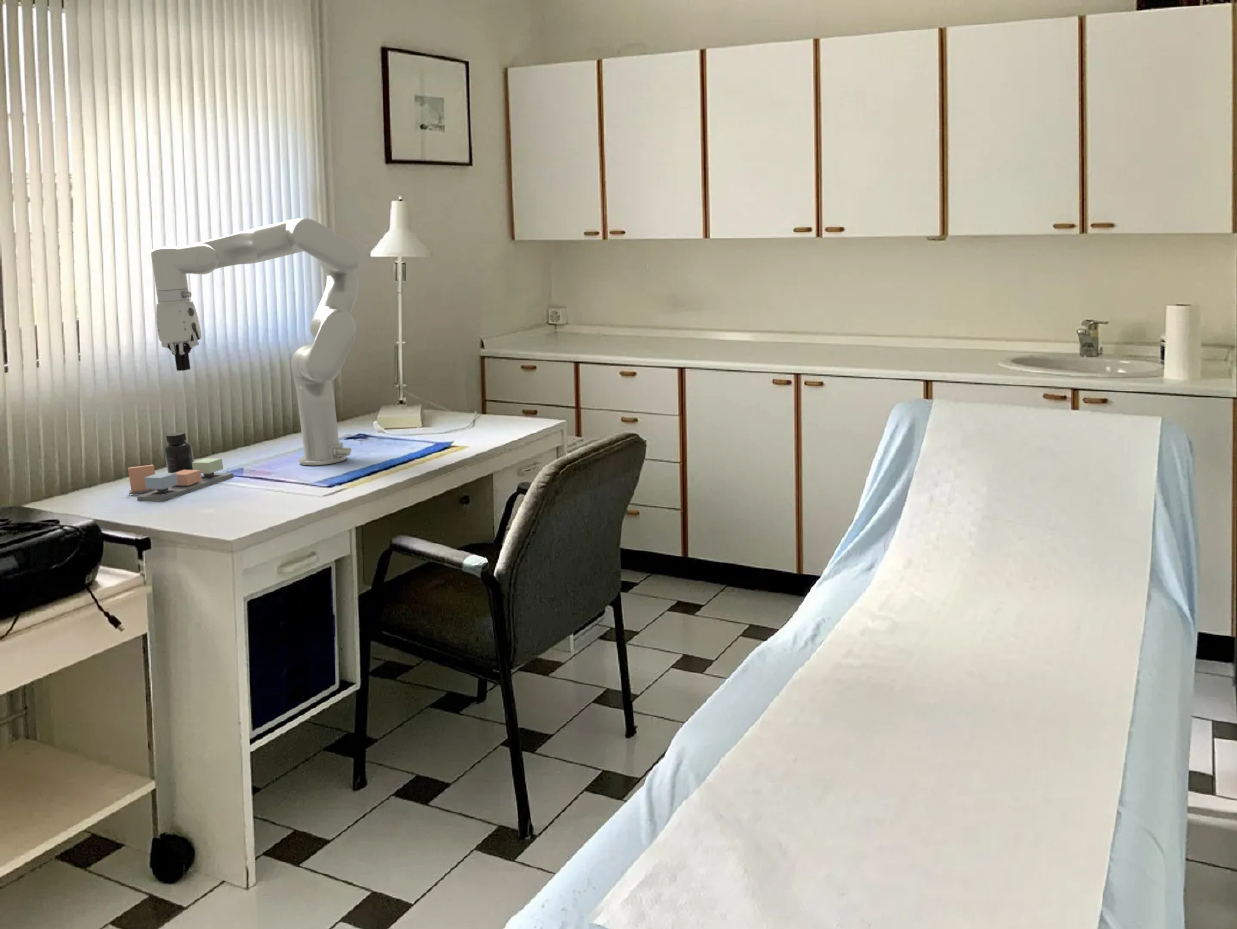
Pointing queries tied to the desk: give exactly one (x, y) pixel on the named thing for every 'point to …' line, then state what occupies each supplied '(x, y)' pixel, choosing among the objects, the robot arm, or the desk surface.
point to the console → (184, 488)
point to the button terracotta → (188, 477)
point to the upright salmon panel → (140, 478)
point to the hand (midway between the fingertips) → (183, 369)
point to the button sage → (208, 466)
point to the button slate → (161, 481)
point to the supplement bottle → (178, 453)
